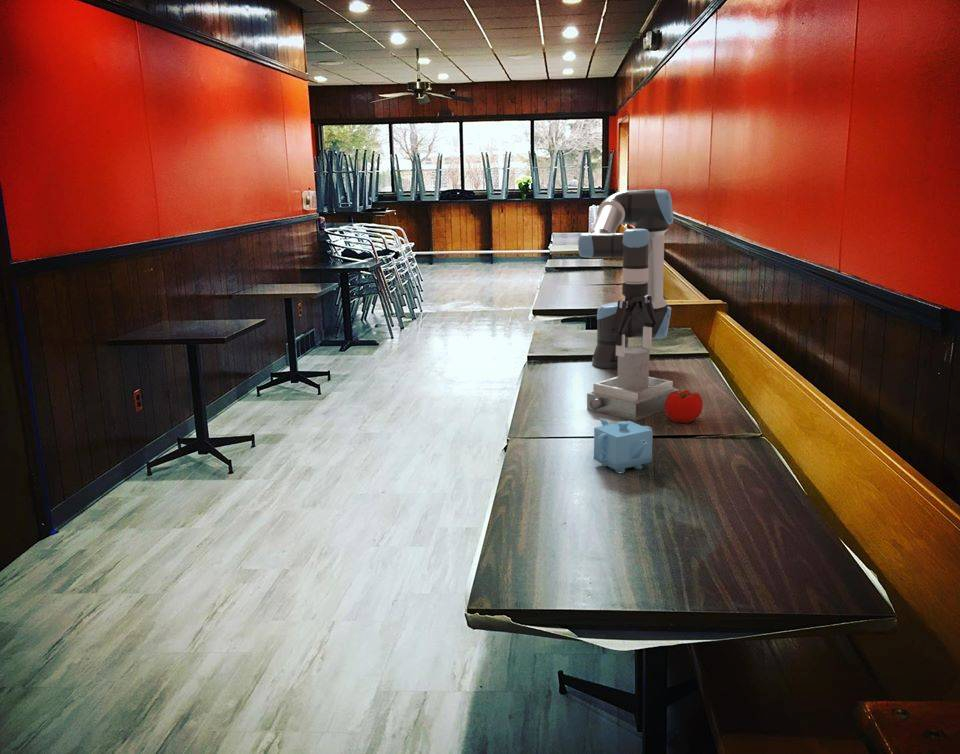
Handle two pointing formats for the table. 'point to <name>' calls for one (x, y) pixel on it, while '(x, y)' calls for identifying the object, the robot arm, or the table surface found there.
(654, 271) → the robot arm
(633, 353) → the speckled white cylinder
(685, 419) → the tomato
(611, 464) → the teapot
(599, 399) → the gearbox
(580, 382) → the table surface
